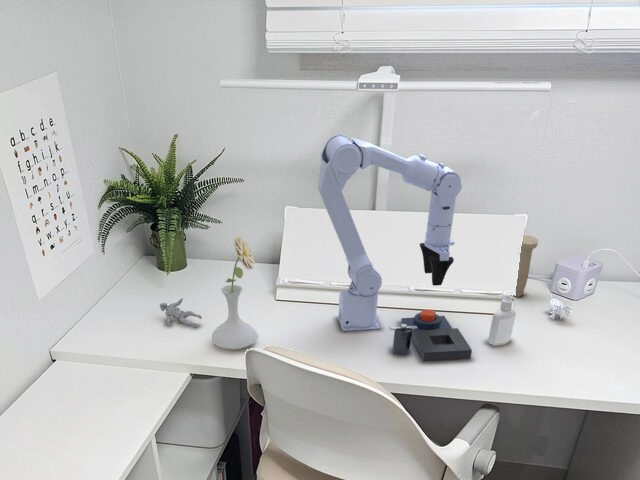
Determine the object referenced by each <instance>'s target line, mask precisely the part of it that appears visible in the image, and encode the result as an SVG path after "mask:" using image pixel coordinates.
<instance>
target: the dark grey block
mask: <svg viewBox="0 0 640 480" xmlns="http://www.w3.org/2000/svg"><path fill="white" fill-rule="evenodd" d="M412 329H417V326H407V325H406V324H398V325H396V326H389V331H394V332H393V340H392V341H393V343H392V351H391V352H392V354H394V355H396V356H407V355H409V354H410V352H411V343H412V337H411V334H412Z"/></svg>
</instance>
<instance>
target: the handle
mask: <svg viewBox="0 0 640 480" xmlns="http://www.w3.org/2000/svg"><path fill="white" fill-rule="evenodd" d="M522 236H523V241H522V246H521V253H520V262H519V270H518V279H517V286H516V297H517V298H520V297H521V296H523V295H524V293H525V288H526V285H527V282H528V279H529V275H530V274H529V273H530V268H531V261H532V260H531V259H532V255H533V250H534V249H537V247H538V243H539V240H538V238H537V237H536V236H533V235H522Z"/></svg>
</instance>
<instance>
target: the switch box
mask: <svg viewBox="0 0 640 480" xmlns="http://www.w3.org/2000/svg"><path fill="white" fill-rule="evenodd" d="M420 316H421V312H418V313H416V314H415V315H414V316H413V317H401V319H400V323H401V324H406V325H407V326H417V329H412V331H418V330H436V329H453V327H452V326H451V324H450V322H449V321H448V320H447V318H446V316H445V315H439V314H437V313H436V315H435V320H434V321H432V322H426V321H422V320H421V319H420ZM401 324H400V325H401ZM411 338H412V334H411Z"/></svg>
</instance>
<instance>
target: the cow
mask: <svg viewBox="0 0 640 480" xmlns="http://www.w3.org/2000/svg"><path fill="white" fill-rule="evenodd" d="M549 293H550V297H551V299H550V300H549V307H550V308H549V311H548V314H551V315H550V316H549V318H552V320H555V319H556V318H555V317H556V315H559V316H560V317H559V320H562V318H566V317H571V315H570V314H571V313H572V311H570V310H573V306H572V304H571V303H570V304H564V303H563V302H562V301H560V300H559V299H557V298H553V294H552V291H551V290H550V291H549Z"/></svg>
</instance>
